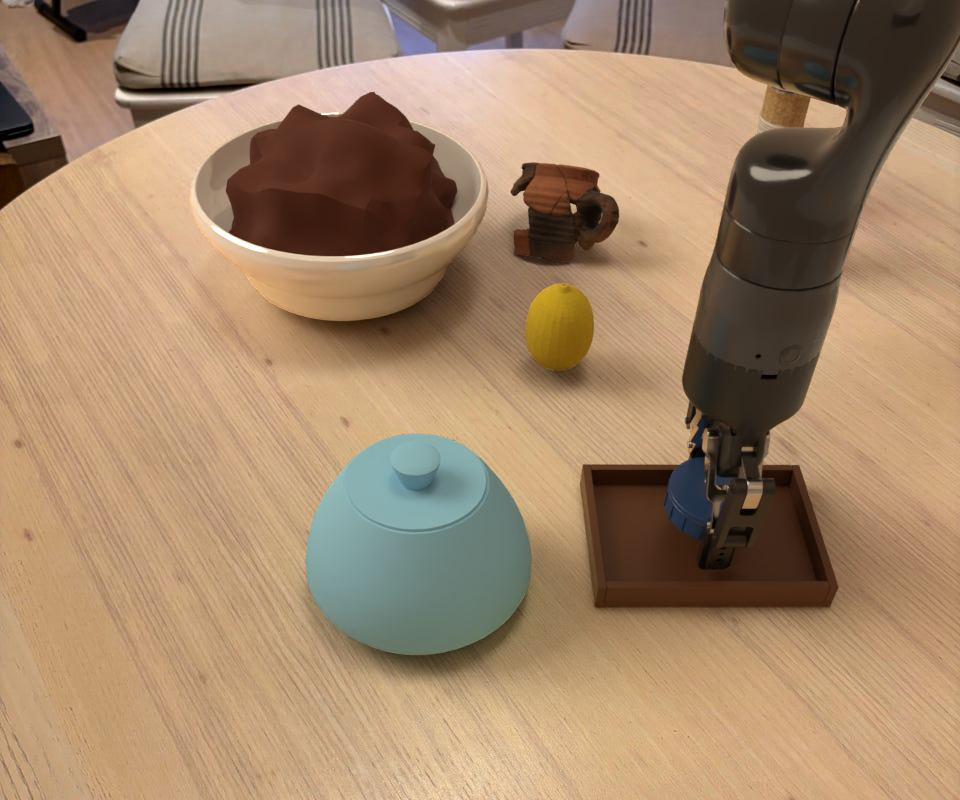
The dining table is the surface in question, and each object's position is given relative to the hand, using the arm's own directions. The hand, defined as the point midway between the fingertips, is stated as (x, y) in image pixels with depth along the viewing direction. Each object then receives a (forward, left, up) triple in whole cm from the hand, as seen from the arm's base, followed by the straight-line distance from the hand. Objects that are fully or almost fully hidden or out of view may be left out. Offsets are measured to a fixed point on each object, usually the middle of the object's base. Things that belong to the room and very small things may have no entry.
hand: (704, 529), depth 72 cm
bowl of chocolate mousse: (+27, -33, -2) cm, 43 cm away
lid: (0, 0, +3) cm, 3 cm away
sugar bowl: (+20, +4, -2) cm, 21 cm away
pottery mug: (+7, -40, -2) cm, 41 cm away
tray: (0, 0, -1) cm, 1 cm away
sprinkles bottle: (-14, -48, -2) cm, 50 cm away
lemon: (+9, -20, -2) cm, 22 cm away
